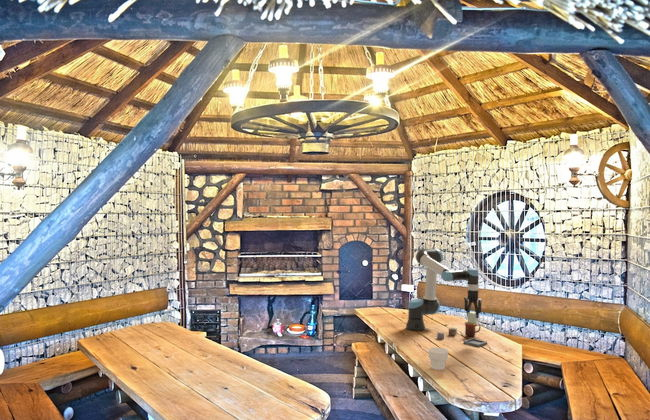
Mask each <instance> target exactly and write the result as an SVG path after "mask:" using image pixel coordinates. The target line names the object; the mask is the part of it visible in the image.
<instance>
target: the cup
mask: <svg viewBox="0 0 650 420" xmlns="http://www.w3.org/2000/svg"><path fill="white" fill-rule="evenodd" d="M448 357H449V349H447V348H444V347H437V346H436V347H434V346H433V347H429V348H428V358H429V360H430V365H431V367H430V368H431V369H433V370H435V371H436V370H437V371H443V370H445V369H446V363H447V359H448Z"/></svg>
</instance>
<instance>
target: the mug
mask: <svg viewBox="0 0 650 420" xmlns="http://www.w3.org/2000/svg"><path fill="white" fill-rule="evenodd" d="M464 325H465V327H464V329H465V331H464V333H465V334H464V335H465V336H466V338H470V337H472V338H475V337H476V333H478V332H480V331H481V325H480V324H478V323H470V322H468V321H465V322H464ZM476 327H479V328H478V330H476Z"/></svg>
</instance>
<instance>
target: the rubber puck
mask: <svg viewBox="0 0 650 420" xmlns="http://www.w3.org/2000/svg"><path fill="white" fill-rule="evenodd" d="M436 336H437V337H436V339H437V340H445V333H444V332H440V331H439V332H437V335H436Z"/></svg>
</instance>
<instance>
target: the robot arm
mask: <svg viewBox="0 0 650 420" xmlns="http://www.w3.org/2000/svg"><path fill="white" fill-rule="evenodd" d="M415 259H416V262H417V263H418V264H420V265H421V266H422V267H425V268H426V270H425V288H424V296H423V297H422V298H414V299H410V300H409V301H408V306H407V308H408V312H407V313H408V318H407V322H406V325H405V329H406V330H407V331H411V332H424V331H425V330H426V326H425V322H424V316H429V315H435V314H436V315H437V314H438V313H439V311H440V310H441V304H440V301H439V300H438V297H436V294H437V279H438V276H440V277H441V279H442V281H444V282H459V281H467V296H465V297H463V300H464V312H466V316H467V317H468V312H471V309H472V308H471V307H472V304H473V306H474V312H476V313H475V323H476V324H478V323H479V318H480V317H479V316H480V314H481V313H482V301H483V300H482V299H481V298H479V269H478V268H468V269H467V270H466V269H457V270H451V269H449V268H448V267H446V266H444V265H443V264H441V263H442V262H443V259H444V257H443V252H442V250H440V249H439V248H423V249H422V248H421V249H420V250H418V251H417V252H416V254H415ZM437 275H438V276H437Z"/></svg>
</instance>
